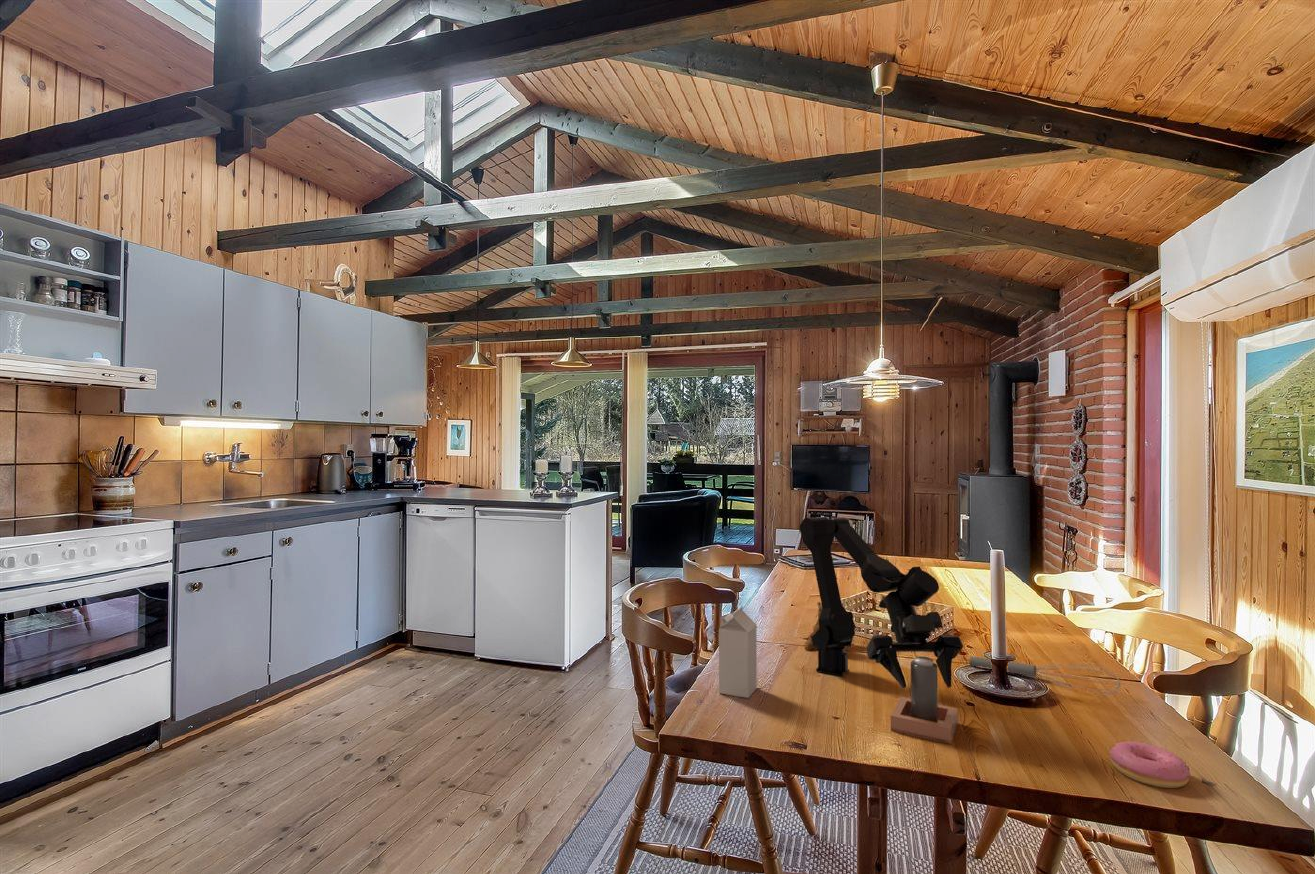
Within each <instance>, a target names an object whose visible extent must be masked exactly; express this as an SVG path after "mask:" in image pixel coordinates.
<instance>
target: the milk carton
mask: <svg viewBox="0 0 1315 874" xmlns="http://www.w3.org/2000/svg"><path fill="white" fill-rule="evenodd" d="M723 619H724V620H725V623H724V624H723V625H721V626H720V627H719V629H718V693H719V694H723V695H728V696H734V697H737V698H738V697H740V698H745V699H749V698H750V697H751V695H752V694H753V693H754V692H755V690H756V689H757V685H758V684H757V683H758V682H757V680H758V677H757V676H758V675H757V674H758V673H757V669H758V668H757V667H758V666H757V663H758V662H757V660H758V659H757V656H758V653H757V650H758V649H757V648H758V647H757V636H758V635H757V634H758V633H757V630H758V629H757V624H756V622H754V620H753V619H752V618H751V617H750V616H749V615H748V614H747V613H746V612H745V611H744V606H743V605H741V606H740V607H739V608H737V609H736V610H735V611H734V612H730V613H729V614H727V615H726V616H725V617H723Z"/></svg>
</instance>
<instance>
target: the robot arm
mask: <svg viewBox="0 0 1315 874" xmlns="http://www.w3.org/2000/svg"><path fill="white" fill-rule="evenodd" d="M799 532H800V535H801V540H802V542H803V544H804V545H805V547H807V549H808V551H810V553H811V557H812V562H813V563H812V564H813V566H814V572H815V578H816V583H817V587H818V592H819V597H820V598H819V599H820V603H822V611H821V614H820V617H819V630H818V631H817V632H816V633H815V634H814V635H813V636H812V642H813V646H815V647H817V648H818V649H817V652H818V653H817V660H818V661H817V666H818V667H816V669H815V671H816V672H818V673H823V674H828V675H833V676H838V677H842V676H843V675H844V674H845V672H847V671H848V669H849V657H848V656H849V654H848V652H846V651H847V649H846V647H851V646H852V642H853V638H854V636H855V635H856V630H855V629H856V628H857V626H856V625H855V622H854V614H853V612H852V611H851V610H850V611H847V609H845V607H844V606H843V603H842V599H841V593H840V588H839V584H838V580H837V579H838V578H837V574H836V571H835V566H834V565H835V564H834V561H833V554H832V550H831V549H832V546H833V543H834V540H835V539H836V541H837V542H838V543H839V545H841V546H842V548H843V549H844V550H845V551H846V553H847V554H848V555H849V556H850V557H851V558H852V559H853V561H854V562H855V563H856V565H857V566H858V567H859V569H860V577H861V579H862V580H863V581H864V583H865V585H866V587H867V588H868V589H869V591H870V592H872V593H873V594H875V593H876V594H877V593H878V594H880V593H881V594H882V593H887V592H888V594H886V595H883V596H882V598H881V600H880V601H879V605H878V607H879V608H881V609H886V610H887V613H888V618H889V619H890V620H889V621H890V623H891V626H890V632H892V633H894V635H895V639H896V641H893V638H892V636H891V635H873V636H872V637H871V639H870V641H869V642H868V644H867V645H866V654H867V657H868V660H870V661H872V660H873V661H874V660H875V663H876V664H880V665H881V666H882V667H883V668H884V669H885V670H887V671H888V673H890V675H891V676H892V677H893V678H894V679H895V680H896V682H898V684H899V685H900V686H901V688H902V689H905V688H906V687H907V683H906V679H905V676H904V673H903V669H902V668H901V666H900V663H899V662H900V661H899V659H898V653H899V652H900V653H901V652H902V653H904V652H905V653H906V652H911V653H912V652H913V653H916V652H920V653H921V652H923V653H924V652H933V655H934V656H935V657H936V659H935V664H936V665H937V669H938V670H939V672H940V675H941V677H942V679H943V682H944V684H945V685H946V687H947V688H948V689H950V688H951V687H952V662H953V660H954V659H956V657H957V656H958V655H959V653H960V652H961V651H962V649H963V648H964V644H963V641H962V639H961V638H960V637H959V636H957V635H955V634H954V635H953V634H947V635H945V634H942V635H939V636H938V637H937V639H936V641H927V639H930V637H931V633H932V632H933V633H935V632H936V629H941V628H942V627H943V621H942V618H941V615H940V613H939V611H930V612H927V613H926V614H917V612H916V609H915V607H921V606H922V605H923V606H924V604H925V603H926V602H928V600H930V599H931V598H932V597H933V596H935V594H936V593H937V592H939V590H940V585H939V582H938V580H937V579H936V578H935V577H933V576H932V574H930V573H929V572H927V571H925V570H923V569H922V568H921V567H920V566H912V567H911V568H910V569H909V570H908V572H907V573H906V574H904V573H903V572H901V571H900V569H899V568H898V567H897V566H895V565H894V564H893V563H892V562H891V561H889V560H887V559H885V558H884V557H881V556H879V555H878V554H876V552H874V550H873V549H872V548H871V546H869V544H867V542H866V541H865V540H864V539H863V538H862V537H861V535H859V533H858V532H857V531H856V530H855V529H854V527H852V525H851V523H850V521H849V519H848V518H845V517H833V518H828V517H827V516H817V517H815V516H814V517H805V518H803V519H802V521H801V523H800V524H799Z"/></svg>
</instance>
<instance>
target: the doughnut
mask: <svg viewBox="0 0 1315 874" xmlns="http://www.w3.org/2000/svg"><path fill="white" fill-rule="evenodd" d="M1108 756H1110V760H1111V763H1112V764H1113V767H1115V768H1116V769H1117V770H1118V772H1120V773H1122V774H1123V775H1125V776H1126V777H1128V778H1130V779H1132V780H1135V781H1136V782H1138V783H1142V784H1143V785H1148V786H1151V787H1156V788H1162V789H1176V788H1181V787H1184V786H1185V785H1186V784H1187V783H1188V782H1189V780H1190V779H1189V778H1190V776H1191V772H1190V768H1189V765H1187V764H1186V762H1185V761H1184V760H1183V759H1182V758H1180V756H1178V755H1176V754H1175V753H1173V752H1171V751H1169V750H1167V749H1164V748H1163V747H1159V746H1156V745H1152V744H1148V743H1146V742H1145V743H1144V742H1142V741H1140V742H1138V741H1133V740H1132V741H1125V740H1123V741H1121V742H1116V744H1114V745H1112V748H1110V752H1109V754H1108Z"/></svg>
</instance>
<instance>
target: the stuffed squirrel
mask: <svg viewBox="0 0 1315 874" xmlns="http://www.w3.org/2000/svg"><path fill="white" fill-rule="evenodd" d="M816 604H817V607H818V610H817V615H816V616H815V619H816V618H817V621H816V623H815V624H814V625H813V628H812V630H813V631H811V633H810V634H809V637H808V640H809V641H808V642H806V643H805V645H804V650H806V651H812V650H813V651H814V650H818V648H817V647H815V646H813V642H812V636H813V635H814V634H815V633H816V632H817V631H818V630H819V617H820V614H821V611H822V603H821V601H817V602H816Z"/></svg>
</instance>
